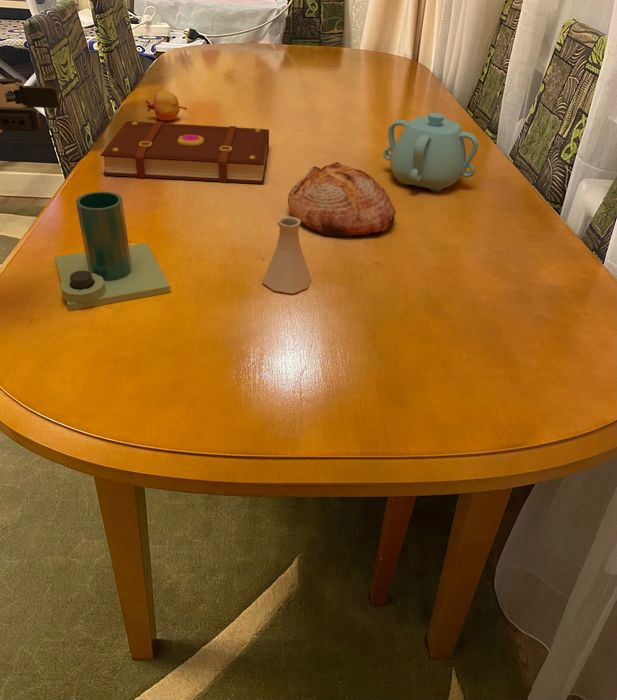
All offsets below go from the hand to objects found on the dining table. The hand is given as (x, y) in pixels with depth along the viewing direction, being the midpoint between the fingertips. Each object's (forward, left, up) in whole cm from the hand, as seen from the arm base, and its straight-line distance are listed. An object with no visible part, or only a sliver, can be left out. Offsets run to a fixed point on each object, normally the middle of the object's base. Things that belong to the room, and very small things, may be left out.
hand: (48, 108), depth 67 cm
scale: (+5, +7, -26) cm, 28 cm away
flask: (+29, -3, -27) cm, 39 cm away
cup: (+5, +7, -25) cm, 27 cm away
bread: (+47, +14, -27) cm, 55 cm away
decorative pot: (+73, +25, -27) cm, 81 cm away
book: (+30, +49, -27) cm, 63 cm away
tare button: (0, +2, -24) cm, 24 cm away
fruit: (+32, +78, -27) cm, 88 cm away
